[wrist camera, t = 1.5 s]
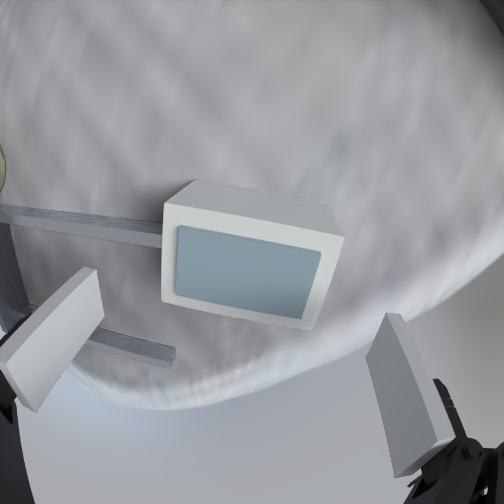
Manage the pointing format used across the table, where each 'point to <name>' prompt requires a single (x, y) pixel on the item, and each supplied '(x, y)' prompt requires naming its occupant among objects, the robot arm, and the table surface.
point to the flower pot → (2, 169)
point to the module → (248, 253)
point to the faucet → (496, 12)
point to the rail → (108, 228)
